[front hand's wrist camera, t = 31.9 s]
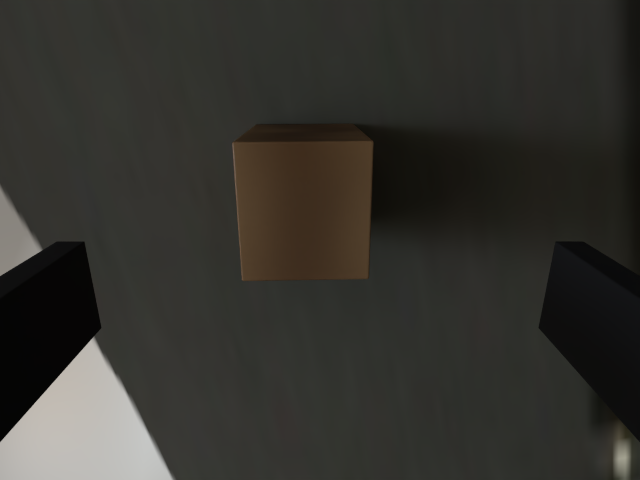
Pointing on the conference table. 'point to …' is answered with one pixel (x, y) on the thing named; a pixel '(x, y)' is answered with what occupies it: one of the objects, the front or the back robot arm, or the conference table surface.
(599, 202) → the conference table surface
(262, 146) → the brick
